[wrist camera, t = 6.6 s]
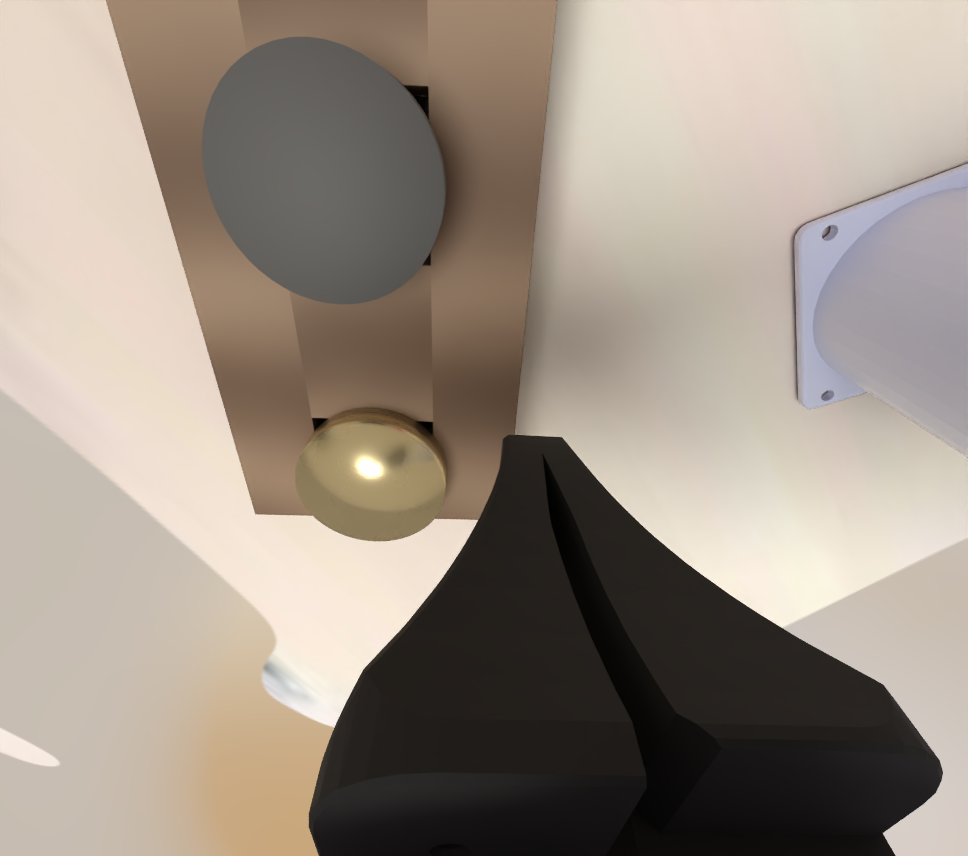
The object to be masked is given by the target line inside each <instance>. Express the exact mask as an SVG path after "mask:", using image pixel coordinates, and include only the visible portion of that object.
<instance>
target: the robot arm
mask: <svg viewBox="0 0 968 856" xmlns="http://www.w3.org/2000/svg"><path fill="white" fill-rule="evenodd" d="M828 226H830V227H831V229H830V232H829V234H828V235H827V236H826V237H824V238H822V234H823V231H824V230H825V228H826V227H828ZM794 249H795V289H796V329H797V368H798V400H799V403H800V404H802V405H803V406H804V407H805V408H807V409H814V408H817V407H821V406H824V405H827V404H831V403H834V402H837V401H841V400H844V399H847V398H850V397H854V396H857V395H860V394H864V393H867V392H869V393H870V394H872V395H873V396H875V397H876V398H878V399H879V400H881V401H882V402H884V403H885V404H887V405H888V406H890V407H891V408H893V409H894V410H896V411H897V412H899V413H900V414H902V415H904V416H905V417H907V418H908V419H910V420H911V421H913V422H914V423H916V424H917V425H919V426H920V427H922V428H923V429H925V430H926V431H928V432H929V433H931V434H932V435H934V436H935V437H937V438H939V439H940V440H942V441H943V442H945V443H946V444H948V445H949V446H951V447H952V448H954V449H955V450H957V451H958V452H960V453H961V454H963V455H964V456H966V457H967V458H968V163H967V164H965V165H962V166H959V167H957V168H954V169H951V170H949V171H946V172H943V173H941V174H938V175H935V176H933V177H930V178H927V179H924V180H922V181H919V182H916V183H914V184H911V185H908V186H906V187H903V188H900V189H898V190H895V191H892V192H890V193H887V194H884V195H882V196H879V197H876V198H873V199H871V200H868V201H865V202H863V203H860V204H857V205H855V206H852V207H849V208H847V209H844V210H841V211H839V212H836V213H833V214H831V215H828V216H825V217H822V218H820V219H817V220H814V221H812V222H809V223H807V224H805V225H804V226H802V227H801V228H800V229H799V230H798V232H797V234H796V236H795V241H794ZM826 391H828V392H827V393H826V394H825V395H824V396H822V394H823V393H824V392H826ZM942 775H943V771H942V767H941V764H940V761H939V759H938V758H937V756H936V755H935V754H934V752H933V751H932V750H931V748H930V747H929V746H928V744H927V743H926V742H925V740H924V739H923V737H922V736H921V735H920V733H919V732H918V731H917V729H916V728H915V727H914V725H913V724H912V723H911V721H910V720H909V718H908V717H907V716H906V714H905V713H904V712H903V710H902V709H901V708H900V706H899V705H898V704H897V702H896V701H895V700H894V698H893V697H892V696H891V694H890V693H889V692H888V690H887V689H886V688H885V687H884V685H883V684H881V683H879V682H877V681H876V680H874V679H872V678H870V677H868V676H867V675H865V674H863V673H861V672H859V671H857V670H855V669H854V668H852V667H850V666H848V665H846V664H845V663H843V662H841V661H839V660H837V659H835V658H833V657H832V656H830V655H828V654H826V653H824V652H822V651H821V650H819V649H817V648H815V647H813V646H811V645H810V644H808V643H806V642H804V641H803V640H801V639H799V638H797V637H796V636H794V635H792V634H791V633H789V632H787V631H786V630H784V629H783V628H781V627H779V626H778V625H776V624H774V623H773V622H771V621H770V620H768V619H766V618H765V617H763V616H761V615H760V614H758V613H757V612H755V611H754V610H752V609H750V608H749V607H747V606H746V605H744V604H743V603H741V602H740V601H738V600H737V599H735V598H734V597H732V596H731V595H729V594H728V593H727V592H725V591H724V590H722V589H721V588H720V587H718V586H717V585H715V584H714V583H713V582H711V581H710V580H708V579H707V578H706V577H704V576H703V575H701V574H700V573H699V572H697V571H696V570H695V569H693V568H692V567H691V566H689V565H688V564H687V563H685V562H684V561H683V560H682V559H680V558H679V557H678V556H677V555H676V554H674V553H673V552H672V551H671V550H670V549H668V548H667V547H666V546H665V545H664V544H662V543H661V542H660V541H659V540H658V539H656V538H655V537H654V536H653V535H652V534H651V533H650V532H648V531H647V530H646V529H645V528H644V527H643V526H642V525H641V524H640V523H639V522H638V521H637V520H636V519H635V518H634V517H633V516H632V515H630V514H629V513H628V512H627V511H626V510H625V509H624V508H623V507H622V506H621V505H620V504H619V503H618V502H617V501H616V500H615V498H614V497H613V496H612V495H611V494H610V493H609V492H608V491H607V490H606V489H605V488H604V487H603V485H602V484H601V483H600V482H599V481H598V480H597V479H596V478H595V476H594V475H593V474H592V473H591V472H590V471H589V469H588V468H587V467H586V466H585V465H584V463H583V462H582V461H581V460H580V459H579V457H578V456H577V455H576V454H575V453H574V451H573V450H572V449H571V448H570V446H569V445H568V444H567V443H566V442H565V441H564V439H563V438H562V437H545V436H525V435H507V436H506V437H504V438H503V441H502V451H501V460H500V469H499V472H498V475H497V478H496V480H495V483H494V486H493V489H492V492H491V494H490V496H489V498H488V501H487V503H486V505H485V507H484V509H483V512H482V514H481V516H480V518H479V520H478V522H477V524H476V526H475V527H474V529H473V531H472V533H471V535H470V536H469V538H468V540H467V541H466V543H465V545H464V547H463V548H462V550H461V551H460V553H459V554H458V556H457V557H456V559H455V560H454V562H453V564H452V565H451V567H450V568H449V570H448V571H447V573H446V574H445V575H444V577H443V578H442V580H441V581H440V582H439V584H438V585H437V586H436V588H435V589H434V590H433V591H432V593H431V594H430V595H429V596H428V598H427V599H426V600H425V601H424V603H423V604H422V605H421V606H420V608H419V609H418V610H417V611H416V613H415V614H414V615H413V616H412V618H411V619H410V620H409V621H408V622H407V623H406V625H405V626H404V627H403V628H402V629H401V630H400V631H399V632H398V633H397V634H396V635H395V637H394V638H393V639H392V640H391V641H390V642H389V643H388V644H387V645H386V646H385V647H384V648H383V649H382V650H381V651H380V652H379V654H378V655H377V656H376V657H375V658H374V659H373V660H372V661H371V662H370V663H369V664H368V665H367V666H366V667H365V668H364V670H363V671H362V673H361V675H360V677H359V679H358V681H357V683H356V685H355V687H354V689H353V691H352V692H351V694H350V696H349V698H348V700H347V702H346V704H345V706H344V708H343V711H342V713H341V715H340V717H339V719H338V721H337V723H336V726H335V728H334V731H333V733H332V735H331V738H330V740H329V743H328V746H327V749H326V752H325V754H324V757H323V761H322V763H321V767H320V771H319V775H318V779H317V783H316V787H315V791H314V795H313V799H312V803H311V807H310V812H309V828H310V832H311V834H312V837H313V840H314V843H315V846H316V849H317V852H318V855H319V856H895V854H894V852H893V851H892V849H891V847H890V846H889V844H888V842H887V840H886V839H885V837H884V835H883V832H885V831H886V830H888V829H889V828H890V827H892V826H893V825H894V824H896V823H897V822H899V821H900V820H901V819H903V818H904V817H906V816H907V815H909V814H910V813H911V812H913V811H914V810H916V809H917V808H919V807H920V806H921V805H923V804H924V803H925V802H926V801H927V800H928V799H929V798H930V797H932V795H934V794H935V793H936V791H937V789H938V787H939V785H940V782H941V779H942Z"/></svg>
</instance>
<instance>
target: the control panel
mask: <svg viewBox="0 0 968 856" xmlns="http://www.w3.org/2000/svg"><path fill="white" fill-rule="evenodd" d="M106 2H107V6H108V9H109V13H110V16H111V20H112V23H113V27H114V30H115V33H116V37H117V40H118V44H119V47H120V51H121V54H122V57H123V61H124V64H125V68H126V71H127V75H128V78H129V81H130V85H131V88H132V92H133V95H134V99H135V102H136V106H137V109H138V112H139V116H140V119H141V123H142V126H143V130H144V133H145V136H146V140H147V143H148V147H149V150H150V154H151V157H152V161H153V164H154V167H155V171H156V174H157V178H158V181H159V185H160V188H161V191H162V195H163V198H164V202H165V205H166V209H167V212H168V216H169V219H170V222H171V226H172V229H173V233H174V236H175V240H176V243H177V246H178V250H179V253H180V257H181V260H182V264H183V267H184V270H185V274H186V277H187V281H188V284H189V288H190V291H191V295H192V298H193V301H194V305H195V308H196V312H197V315H198V319H199V322H200V325H201V329H202V332H203V336H204V339H205V343H206V346H207V350H208V353H209V356H210V360H211V363H212V367H213V370H214V374H215V377H216V380H217V384H218V387H219V391H220V394H221V398H222V401H223V404H224V408H225V411H226V415H227V418H228V422H229V425H230V429H231V432H232V435H233V439H234V442H235V446H236V449H237V453H238V456H239V459H240V463H241V466H242V470H243V473H244V477H245V480H246V484H247V487H248V490H249V494H250V497H251V501H252V504H253V508H254V511H255V514H268V515H308V516H313V515H312V514H311V513H310V512H309V511H308V510H307V508H306V507H305V506H304V504H303V502H302V501H301V499H300V497H299V495H298V492H297V488H296V483H295V470H296V465H297V462H298V460H299V458H300V456H301V454H302V452H303V450H304V448H305V446H306V445H307V443H308V441H309V439H310V437H311V436H312V434H313V433H314V431H315V430H316V429H317V427H318V426H319V425H320V424H321V423H323V422H324V421H325V420H326V419H328V418H330V417H331V416H333V415H335V414H338V413H340V412H342V411H346V410H350V409H355V408H366V407H373V408H382V409H387V410H392V411H395V412H398V413H401V414H403V415H406V416H408V417H410V418H412V419H413V420H415V421H427V422H433V436H434V437H435V439H436V440H437V441H438V443H439V444H440V446H441V448H442V450H443V453H444V455H445V459H446V465H447V474H446V486H445V497H444V501H443V505H442V507H441V509H440V512H439V513H438V515H437V516H436V518H435V519H470V520H479V518H480V516H481V514H482V512H483V509H484V507H485V505H486V503H487V501H488V498H489V496H490V494H491V492H492V489H493V486H494V483H495V480H496V478H497V475H498V472H499V469H500V460H501V451H502V441H503V438H504V437H506V436H507V435H514V433H515V423H516V413H517V403H518V393H519V382H520V372H521V362H522V352H523V342H524V332H525V322H526V312H527V302H528V291H529V281H530V271H531V261H532V251H533V241H534V231H535V221H536V210H537V200H538V190H539V180H540V170H541V160H542V150H543V140H544V130H545V119H546V109H547V99H548V89H549V79H550V69H551V59H552V49H553V38H554V28H555V18H556V8H557V0H106ZM288 37H313V38H320V39H326V40H329V41H333V42H336V43H339V44H342V45H345V46H347V47H349V48H351V49H353V50H355V51H358V52H360V53H362V54H363V55H365V56H366V57H368V58H369V59H371V60H372V61H374V62H375V63H377V64H378V65H380V66H381V67H382V68H384V69H385V70H387V71H388V72H389V73H390V74H391V75H393V76H394V77H395V78H396V79H397V80H398V81H400V82H401V83H402V84H403V86H404V87H405V88H406V89H407V90H408V91H409V92H410V93H411V94H412V95H413V96H424V97H429V122H430V124H431V125H432V128H433V130H434V132H435V135H436V137H437V140H438V142H439V146H440V149H441V153H442V156H443V161H444V167H445V173H446V205H445V210H444V216H443V220H442V223H441V226H440V230H439V233H438V235H437V238H436V241H435V243H434V245H433V247H432V249H431V251H430V254H429V255H428V257H427V259H426V260H425V262H424V263H423V265H422V266H421V268H420V269H419V270H418V271H417V272H416V273H415V274H414V276H413V277H412V278H411V279H409V280H408V281H407V282H406V283H405V284H404V285H403V286H401V287H400V288H398V289H396V290H395V291H393V292H392V293H390V294H388V295H386V296H383V297H381V298H379V299H376V300H372V301H369V302H365V303H358V304H342V305H340V304H330V303H324V302H319V301H315V300H311V299H308V298H306V297H303V296H300V295H298V294H296V293H293V292H291V291H289V290H287V289H285V288H284V287H282V286H280V285H279V284H277V283H276V282H274V281H272V280H271V279H270V278H269V277H267V276H266V275H265V274H263V273H262V272H261V271H260V270H259V269H257V268H256V267H255V266H254V265H253V264H252V263H251V262H250V261H249V260H248V259H247V258H246V257H245V255H244V254H243V253H242V252H241V251H240V249H239V248H238V247H237V246H236V244H235V243H234V242H233V240H232V239H231V237H230V236H229V234H228V233H227V231H226V229H225V228H224V226H223V224H222V222H221V220H220V219H219V217H218V215H217V212H216V210H215V207H214V205H213V203H212V200H211V197H210V194H209V190H208V187H207V184H206V179H205V174H204V168H203V159H202V134H203V126H204V120H205V115H206V111H207V108H208V105H209V102H210V100H211V97H212V94H213V93H214V91H215V89H216V87H217V85H218V83H219V81H220V80H221V78H222V77H223V76H224V75H225V73H226V72H227V71H228V69H229V68H230V67H231V66H232V65H233V64H234V63H235V62H236V61H237V60H239V59H240V58H241V57H242V56H243V55H245V54H246V53H248V52H249V51H251V50H253V49H254V48H256V47H258V46H260V45H263V44H265V43H268V42H270V41H273V40H278V39H283V38H288Z"/></svg>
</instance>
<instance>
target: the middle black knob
mask: <svg viewBox="0 0 968 856" xmlns="http://www.w3.org/2000/svg"><path fill="white" fill-rule="evenodd" d="M202 159H203V168H204V174H205V179H206V184H207V187H208V190H209V194H210V197H211V200H212V203H213V205H214V207H215V210H216V212H217V215H218V217H219V219H220V220H221V222H222V224H223V226H224V228H225V229H226V231H227V233H228V234H229V236H230V237H231V239H232V240H233V242H234V243H235V244H236V246H237V247H238V248H239V249H240V251H241V252H242V253H243V254H244V255H245V257H246V258H247V259H248V260H249V261H250V262H251V263H252V264H253V265H254V266H255V267H256V268H257V269H259V270H260V271H261V272H262V273H263V274H265V275H266V276H267V277H269V278H270V279H271V280H272V281H274V282H276V283H277V284H279V285H280V286H282V287H284V288H285V289H287V290H289V291H291V292H293V293H296V294H298V295H300V296H303V297H306V298H308V299H311V300H315V301H319V302H324V303H330V304H340V305H342V304H358V303H365V302H369V301H372V300H376V299H379V298H381V297H383V296H386V295H388V294H390V293H392V292H393V291H395V290H396V289H398V288H400V287H401V286H403V285H404V284H405V283H406V282H407V281H408V280H409V279H411V278H412V277H413V276H414V274H415V273H416V272H417V271H418V270H419V269H420V268H421V266H422V265H423V263H424V262H425V260H426V259H427V257H428V255H429V254H430V251H431V249H432V247H433V245H434V243H435V241H436V238H437V235H438V233H439V230H440V226H441V223H442V220H443V216H444V210H445V205H446V173H445V167H444V161H443V156H442V153H441V149H440V146H439V142H438V140H437V137H436V135H435V132H434V130H433V128H432V125H431V124H430V122H429V120H428V118H427V116H426V114H425V113H424V111H423V109H422V108H421V107H420V105H419V104H418V102H417V101H416V100H415V98H414V97H413V95H412V94H411V93H410V92H409V91H408V90H407V89H406V88H405V87H404V86H403V84H402V83H401V82H400V81H398V80H397V79H396V78H395V77H394V76H393V75H391V74H390V73H389V72H388V71H387V70H385V69H384V68H382V67H381V66H380V65H378V64H377V63H375V62H374V61H372V60H371V59H369V58H368V57H366V56H365V55H363V54H362V53H360V52H358V51H355V50H353V49H351V48H349V47H347V46H345V45H342V44H339V43H336V42H333V41H329V40H326V39H320V38H313V37H288V38H283V39H278V40H273V41H270V42H268V43H265V44H263V45H260V46H258V47H256V48H254V49H253V50H251V51H249V52H248V53H246V54H245V55H243V56H242V57H241V58H240V59H239V60H237V61H236V62H235V63H234V64H233V65H232V66H231V67H230V68H229V69H228V71H227V72H226V73H225V75H224V76H223V77H222V78H221V80H220V81H219V83H218V85H217V87H216V89H215V91H214V93H213V94H212V97H211V100H210V102H209V105H208V108H207V111H206V115H205V120H204V126H203V134H202Z"/></svg>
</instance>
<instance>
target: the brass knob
mask: <svg viewBox="0 0 968 856" xmlns="http://www.w3.org/2000/svg"><path fill="white" fill-rule="evenodd" d="M432 425H433V422H427V421H415V420H413V419H412V418H410V417H408V416H406V415H403V414H401V413H398V412H395V411H392V410H387V409H382V408H373V407H366V408H355V409H350V410H346V411H342V412H340V413H338V414H335V415H333V416H331V417H330V418H328V419H326V420H325V421H324V422H323V423H321V424H320V425H319V426H318V427H317V429H316V430H315V431H314V433H313V434H312V436H311V437H310V439H309V441H308V443H307V445H306V446H305V448H304V450H303V452H302V454H301V456H300V458H299V460H298V462H297V465H296V470H295V483H296V488H297V492H298V495H299V497H300V499H301V501H302V502H303V504H304V506H305V507H306V508H307V510H308V511H309V512H310V513H311V514H312V515H313V516H314V517H315V518H316V519H317V520H318V521H320V522H321V523H322V524H324V525H325V526H327V527H329V528H330V529H332V530H334V531H336V532H338V533H340V534H343V535H346V536H349V537H352V538H356V539H361V540H367V541H390V540H396V539H401V538H405V537H407V536H410V535H413V534H415V533H417V532H419V531H420V530H422V529H424V528H425V527H426V526H427V525H429V524H430V523H431V522H432V521H433V520H434V519H435V518H436V516H437V515H438V513H439V512H440V509H441V507H442V505H443V501H444V497H445V486H446V474H447V465H446V459H445V455H444V453H443V450H442V448H441V446H440V444H439V443H438V441H437V440H436V439H435V437H434V436H433V435H432V434H431V432H432Z"/></svg>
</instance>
